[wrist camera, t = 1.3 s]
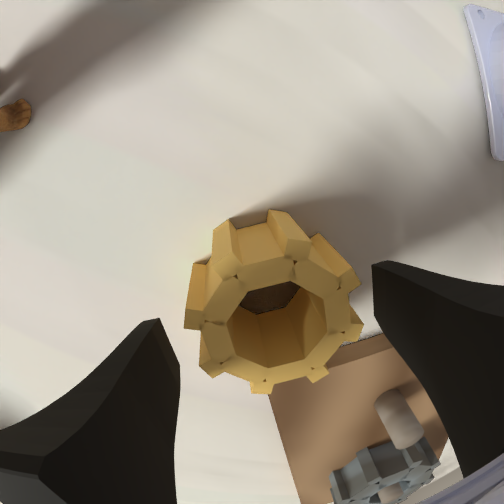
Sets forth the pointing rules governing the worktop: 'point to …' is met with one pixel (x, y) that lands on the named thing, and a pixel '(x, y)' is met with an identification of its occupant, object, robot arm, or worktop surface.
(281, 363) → the ochre gear
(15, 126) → the lion figurine
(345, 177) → the worktop surface
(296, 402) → the gear board
